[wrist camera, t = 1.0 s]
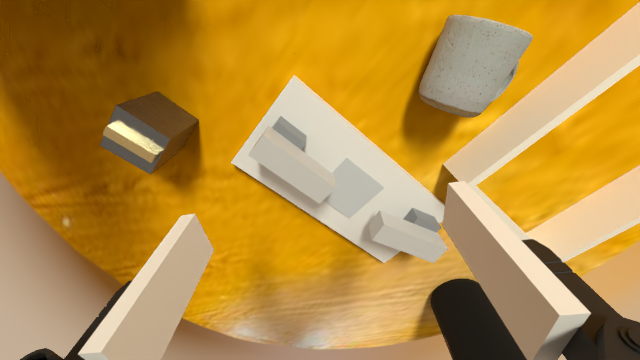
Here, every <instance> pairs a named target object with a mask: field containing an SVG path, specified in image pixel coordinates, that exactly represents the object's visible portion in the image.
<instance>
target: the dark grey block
mask: <svg viewBox="0 0 640 360" xmlns="http://www.w3.org/2000/svg"><path fill="white" fill-rule="evenodd" d="M198 121H199V120H198V119H197V118H195V117H194V116H192V115H191V114H190V113H188V112H187V111H185V110H184V109H182V108H181V107H179V106H178V105H176V104H175V103H173V102H172V101H171V100H169V99H168V98H166V97H165V96H163V95H162V94H160V93H159V92H154V93H151V94H148V95H145V96H142V97H139V98H136V99H133V100H130V101H127V102H124V103H121V104H118V105H116V107H115V109H114V112H113V114H112V117H111V119H110V122H109V124H108V125H106V127H105V129H104V132H103V134H102V135H104V136H103V139H102V141H101V144H100V146H102V147H104V148H105V149H107V150H109V151H111V152H112V153H114V154H116V155H118V156H119V157H121V158H123V159H125V160H126V161H128V162H130V163H132V164H133V165H135V166H137V167H139V168H140V169H142V170H144V171H145V172H147V173H149V174H152V173H153V172H154V171H155V170H157V169H158V168H159V167H160V166H162V165H163V164H164V163H165V162H167V161H168V160H169V159H171V158H172V157H173V156H174V155H176V154H177V153H178V152H179V151H181V149H182V148H183V146H184V144H185V143H186V141H187V139H188V137H189V136H190V134H191V132H192V131H193V129H194V127H195V126H196V124H197V122H198Z"/></svg>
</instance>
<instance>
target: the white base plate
mask: <svg viewBox="0 0 640 360" xmlns="http://www.w3.org/2000/svg"><path fill="white" fill-rule="evenodd" d="M231 163H232V164H234V165H235V166H237V167H238V168H240V169H242V170H243V171H245V172H246V173H248V174H249V175H251V176H252V177H254V178H255V179H257V180H258V181H260V182H261V183H263V184H264V185H266V186H267V187H269V188H270V189H272V190H274V191H275V192H277V193H278V194H280V195H281V196H283V197H284V198H286V199H287V200H289V201H290V202H292V203H293V204H295V205H296V206H298V207H299V208H301V209H302V210H304V211H306V212H307V213H309V214H310V215H312V216H313V217H315V218H316V219H318V220H319V221H321V222H322V223H324V224H325V225H327V226H328V227H330V228H331V229H333V230H334V231H336V232H338V233H339V234H341V235H342V236H344V237H345V238H347V239H348V240H350V241H351V242H353V243H354V244H356V245H357V246H359V247H360V248H362V249H363V250H365V251H366V252H368V253H370V254H371V255H373V256H374V257H376V258H377V259H379V260H380V261H382V262H383V263H385V262H387V261H388V260H389V259H391V258H392V257H394V256H395V255H396V254H398V253H399V252H401V251H403V252H405V253H408V254H411V255H414V256H416V257H419V258H422V259H424V260H427V261H430V262H433V263H434V262H435V261H436V260H437V259H438V258H439V257H440V256H441V255H442V254H443V253H444V252H445V251H446V250H447V249H448V248H447V247H446V245H445V243H444V242H443V240H442V238H441V236H440V235H439V233H437V232H438V231H439V229H440V228H441V227H440V225H439V224H440V223H441V222H443V216H444V209H445V204H444V203H443V202H442V201H440V200H439V199H438V198H437V197H436V196H435V195H433V194H432V193H431V192H430V191H429V190H428V189H426V188H425V187H424V186H423V185H422V184H421V183H419V182H418V181H417V180H416V179H415V178H414V177H412V176H411V175H410V174H409V173H408V172H407V171H405V170H404V169H403V168H402V167H401V166H400V165H399V164H397V163H396V162H395V161H394V160H393V159H392V158H390V157H389V156H388V155H387V154H386V153H385V152H383V151H382V150H381V149H380V148H379V147H378V146H376V145H375V144H374V143H373V142H372V141H371V140H369V139H368V138H367V137H366V136H365V135H364V134H362V133H361V132H360V131H359V130H358V129H357V128H356V127H354V126H353V125H352V124H351V123H350V122H349V121H347V120H346V119H345V118H344V117H343V116H342V115H340V114H339V113H338V112H337V111H336V110H335V109H333V108H332V107H331V106H330V105H329V104H328V103H326V102H325V101H324V100H323V99H322V98H321V97H319V96H318V95H317V94H316V93H315V92H314V91H313V90H311V89H310V88H309V87H308V86H307V85H306V84H304V83H303V82H302V81H301V80H300V79H299V78H297V77H296V76H295V75H294V76H293V77H292V79H291V80H290V81H289V83H288V84H287V85H286V87H285V88H284V90H283V91H282V92H281V94H280V95H279V97H278V98H277V99H276V101H275V102H274V103H273V105H272V106H271V108H270V109H269V110H268V112H267V113H266V115H265V116H264V117H263V119H262V120H261V122H260V123H259V124H258V126H257V127H256V128H255V130H254V131H253V133H252V134H251V135H250V137H249V138H248V140H247V141H246V142H245V144H244V145H243V146H242V148H241V149H240V151H239V152H238V153H237V155H236V156H235V158H234V159H233V160H232V162H231Z"/></svg>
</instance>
